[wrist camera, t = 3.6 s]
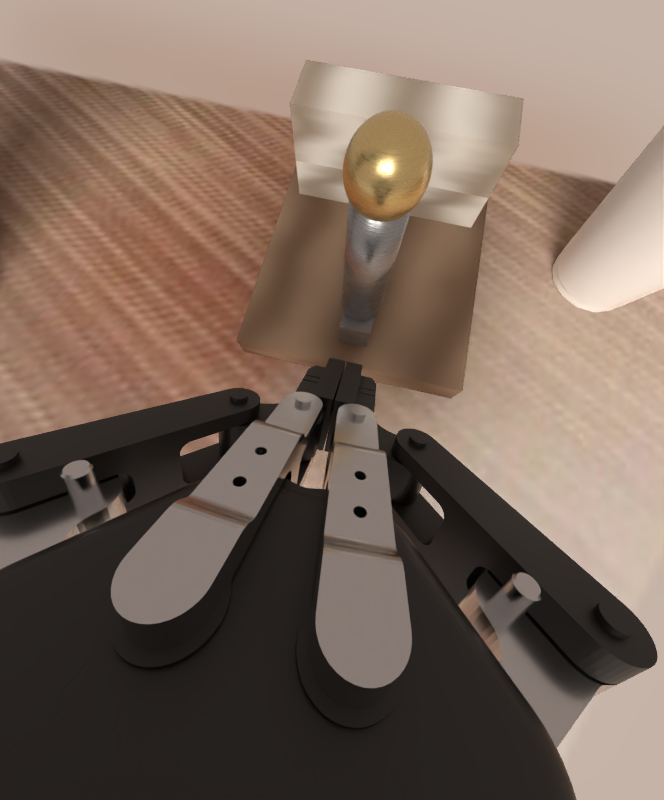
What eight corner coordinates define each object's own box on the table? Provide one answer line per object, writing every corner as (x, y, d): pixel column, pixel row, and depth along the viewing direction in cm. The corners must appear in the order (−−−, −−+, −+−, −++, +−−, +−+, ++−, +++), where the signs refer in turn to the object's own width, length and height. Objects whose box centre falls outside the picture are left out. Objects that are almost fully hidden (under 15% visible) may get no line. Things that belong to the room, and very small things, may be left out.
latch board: (244, 351, 23) (200, 288, 15) (303, 173, 27) (293, 51, 19) (450, 398, 22) (517, 357, 14) (477, 207, 26) (540, 95, 18)
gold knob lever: (329, 338, 21) (331, 158, 9) (357, 233, 23) (387, -24, 11) (374, 348, 20) (437, 179, 9) (397, 242, 23) (473, -9, 11)
